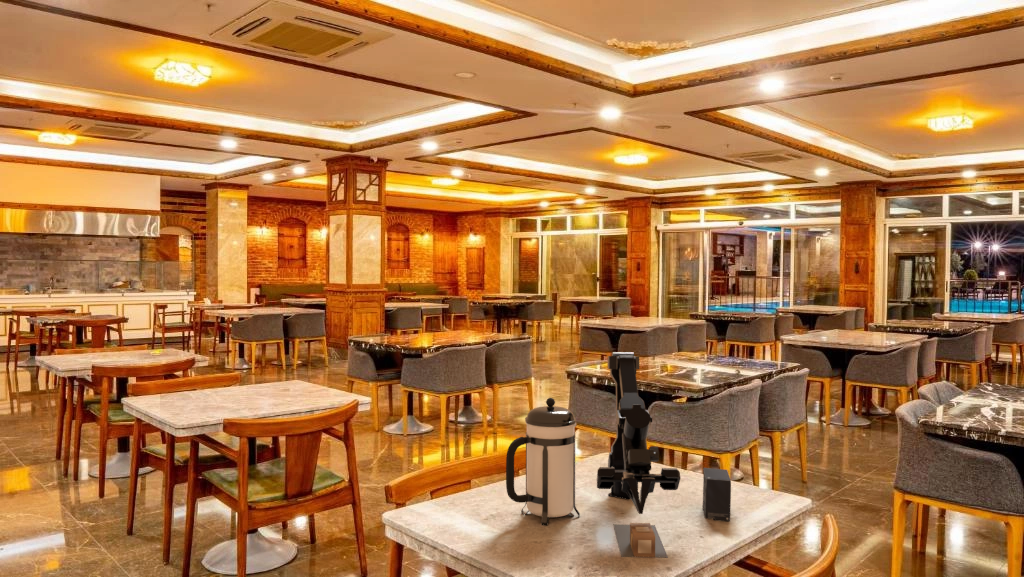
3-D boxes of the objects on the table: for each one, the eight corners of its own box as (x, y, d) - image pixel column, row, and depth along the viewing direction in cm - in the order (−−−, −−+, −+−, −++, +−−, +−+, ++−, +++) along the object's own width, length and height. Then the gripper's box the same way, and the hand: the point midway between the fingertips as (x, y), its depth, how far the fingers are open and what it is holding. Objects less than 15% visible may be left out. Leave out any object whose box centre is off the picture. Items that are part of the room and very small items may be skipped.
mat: (613, 526, 172) (613, 524, 172) (654, 527, 171) (654, 525, 171) (621, 558, 152) (621, 556, 152) (668, 560, 152) (668, 557, 152)
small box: (731, 522, 175) (732, 480, 175) (704, 520, 176) (704, 478, 176) (727, 508, 185) (728, 468, 185) (701, 506, 187) (702, 467, 186)
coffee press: (527, 503, 189) (527, 391, 188) (586, 510, 184) (586, 394, 183) (505, 525, 173) (505, 402, 172) (568, 533, 167) (569, 406, 167)
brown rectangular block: (629, 521, 160) (633, 535, 152) (649, 522, 160) (655, 535, 152) (628, 542, 161) (633, 556, 152) (649, 542, 160) (655, 557, 152)
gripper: (597, 432, 164) (600, 495, 153) (679, 433, 163) (688, 496, 152) (595, 457, 172) (598, 518, 161) (673, 458, 171) (681, 520, 160)
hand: (640, 513), depth 159 cm, fingers closed
